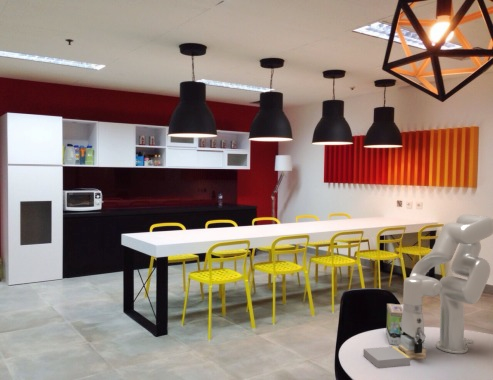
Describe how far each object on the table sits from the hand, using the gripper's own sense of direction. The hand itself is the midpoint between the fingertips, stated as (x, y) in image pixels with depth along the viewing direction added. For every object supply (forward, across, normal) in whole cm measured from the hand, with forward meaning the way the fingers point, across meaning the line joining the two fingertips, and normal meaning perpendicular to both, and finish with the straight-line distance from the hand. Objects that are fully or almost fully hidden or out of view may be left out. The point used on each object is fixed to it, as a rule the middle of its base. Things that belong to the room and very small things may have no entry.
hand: (411, 348), depth 184 cm
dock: (+4, -2, +12) cm, 13 cm away
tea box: (+3, +18, -6) cm, 19 cm away
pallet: (+3, 0, 0) cm, 3 cm away
